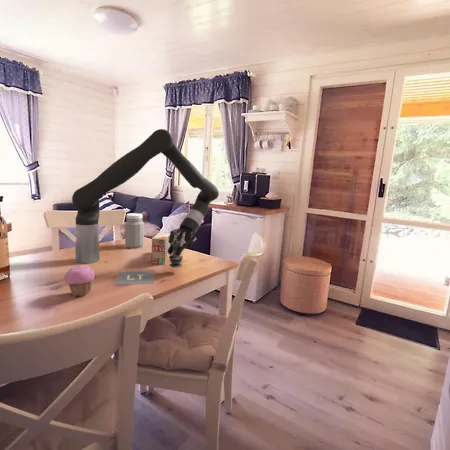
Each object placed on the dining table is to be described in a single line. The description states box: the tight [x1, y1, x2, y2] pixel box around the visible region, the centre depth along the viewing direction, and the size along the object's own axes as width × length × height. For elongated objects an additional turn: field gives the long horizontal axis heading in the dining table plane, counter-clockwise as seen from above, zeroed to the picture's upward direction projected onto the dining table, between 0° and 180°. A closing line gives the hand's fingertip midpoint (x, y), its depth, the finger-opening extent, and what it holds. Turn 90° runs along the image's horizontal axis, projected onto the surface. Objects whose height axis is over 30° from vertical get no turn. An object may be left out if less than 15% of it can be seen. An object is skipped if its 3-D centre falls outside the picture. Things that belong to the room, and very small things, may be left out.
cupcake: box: [64, 264, 96, 297], centre depth 97 cm, size 9×9×10 cm
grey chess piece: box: [169, 238, 184, 268], centre depth 122 cm, size 6×6×12 cm
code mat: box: [114, 270, 155, 286], centre depth 115 cm, size 14×14×1 cm
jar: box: [124, 212, 145, 249], centre depth 159 cm, size 10×10×18 cm
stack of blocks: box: [151, 232, 172, 265], centre depth 142 cm, size 21×6×12 cm, turn 179°
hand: (172, 254), depth 120 cm, fingers closed on grey chess piece, 3 cm apart
